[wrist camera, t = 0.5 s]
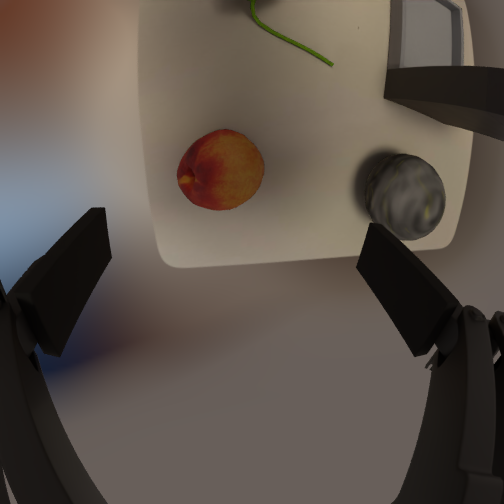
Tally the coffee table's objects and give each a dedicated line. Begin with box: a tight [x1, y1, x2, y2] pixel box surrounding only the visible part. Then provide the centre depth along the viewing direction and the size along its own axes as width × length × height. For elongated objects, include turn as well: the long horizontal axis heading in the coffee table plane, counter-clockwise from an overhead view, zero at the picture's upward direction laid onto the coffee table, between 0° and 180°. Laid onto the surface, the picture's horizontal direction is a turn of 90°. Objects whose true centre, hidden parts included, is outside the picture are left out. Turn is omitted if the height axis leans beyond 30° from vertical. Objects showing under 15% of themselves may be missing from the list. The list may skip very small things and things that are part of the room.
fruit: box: [177, 129, 264, 210], centre depth 25 cm, size 8×8×8 cm
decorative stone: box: [365, 154, 446, 240], centre depth 27 cm, size 10×10×10 cm
